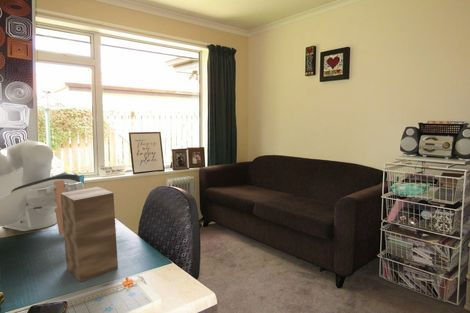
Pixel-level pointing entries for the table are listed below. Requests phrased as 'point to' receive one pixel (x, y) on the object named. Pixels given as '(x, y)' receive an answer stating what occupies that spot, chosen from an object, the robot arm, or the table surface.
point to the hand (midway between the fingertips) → (60, 186)
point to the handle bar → (59, 204)
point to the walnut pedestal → (89, 232)
